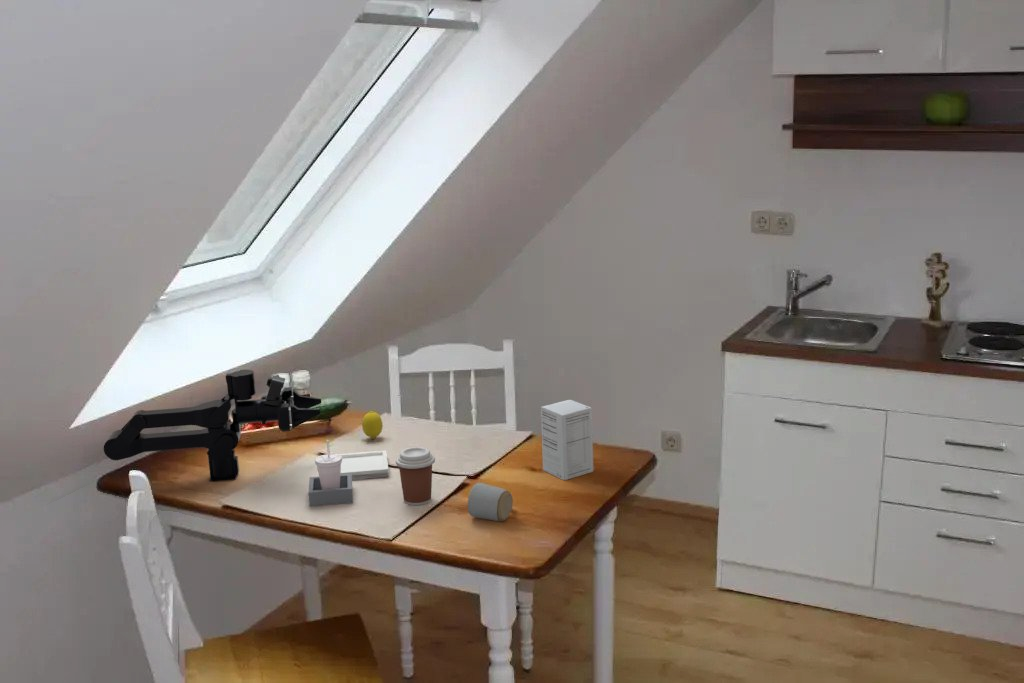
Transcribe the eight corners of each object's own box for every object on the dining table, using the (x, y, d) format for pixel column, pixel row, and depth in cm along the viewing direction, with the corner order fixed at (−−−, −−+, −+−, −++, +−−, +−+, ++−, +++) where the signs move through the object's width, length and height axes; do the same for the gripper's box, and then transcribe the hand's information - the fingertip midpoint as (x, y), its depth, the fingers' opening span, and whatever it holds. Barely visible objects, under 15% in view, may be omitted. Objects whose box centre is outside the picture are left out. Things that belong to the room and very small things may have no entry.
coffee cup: (435, 491, 252) (432, 443, 249) (439, 505, 243) (436, 456, 240) (396, 494, 251) (393, 447, 248) (399, 509, 242) (396, 460, 239)
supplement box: (572, 461, 268) (570, 398, 264) (594, 472, 261) (593, 406, 257) (541, 470, 263) (539, 405, 259) (563, 481, 256) (562, 414, 252)
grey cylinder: (500, 527, 230) (499, 494, 229) (467, 521, 234) (466, 488, 232) (521, 510, 240) (520, 478, 238) (489, 505, 243) (488, 473, 242)
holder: (309, 506, 245) (308, 492, 244) (310, 490, 255) (309, 477, 254) (352, 502, 247) (351, 488, 246) (352, 487, 256) (351, 473, 255)
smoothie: (348, 491, 254) (343, 436, 250) (341, 502, 247) (336, 445, 244) (322, 491, 254) (317, 436, 251) (314, 501, 248) (309, 445, 245)
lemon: (359, 441, 289) (357, 413, 287) (369, 434, 294) (367, 407, 292) (377, 443, 287) (375, 415, 285) (386, 436, 292) (385, 409, 290)
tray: (331, 481, 260) (331, 473, 260) (332, 462, 274) (331, 454, 273) (388, 476, 262) (388, 469, 262) (386, 457, 276) (386, 450, 275)
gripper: (251, 390, 253) (317, 385, 255) (257, 370, 271) (319, 365, 273) (255, 434, 255) (321, 429, 258) (261, 411, 273) (322, 407, 276)
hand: (320, 406), depth 266 cm, fingers open, 9 cm apart
